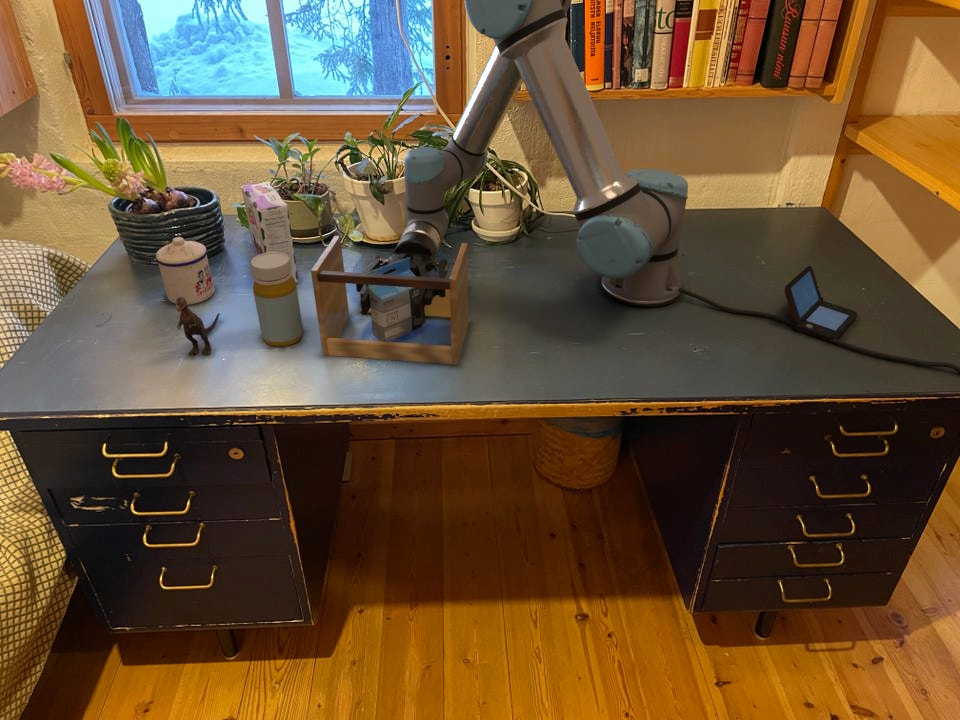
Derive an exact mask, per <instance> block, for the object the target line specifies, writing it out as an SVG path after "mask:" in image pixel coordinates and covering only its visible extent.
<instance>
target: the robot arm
mask: <svg viewBox="0 0 960 720" xmlns="http://www.w3.org/2000/svg"><path fill="white" fill-rule="evenodd" d="M463 1H464V7H465V8H464V9H465V12H466V15H467V18H468V20H469V22H470V24H471V25H472V27H473V28H474V29H475V30H476V32H478V33H479V34H481V35H484V36H485V37H487V38H489V39H493V42H494V47H493V49H492V51H491V53H490V54H489V57H488V59H487V61H486V63H485V66H483V67H484V68H483V70H482V71H481V74H480V76H479V78H478V80H477V82H476V84H475V86H474V88H473V90H472V93H471V95H470V97H469V98H468V101H467V104H466V105H465V107H464V109H463V112H462V114H461V116H460V118H459V120H458V122H457V124H456V127H455V129H454V131H453V132H452V135H451V137H450V139H449V141H448V143H447V145H446V146H445V147H444V148H442V149H441V150H440V149H439V148H436V147H432V146H419V147H416V148H415V147H414V148H411V149H409V150H408V151H407V152H406V153H405V155H404V170H403V177H404V184H405V185H404V187H405V201H406V220H407V225H406V227H405V228H404V231H403V233H402V235H401V236H400V238H399V241H398V243H397V245H396V247H395V249H394V251H393V255H391V256H389V257H388V258H387V259H386V258H385V259H383V258H381V256H380V255H373V258H372V261H371V262H370V263H369V264H368V265H367V266H366V267H365V268H364V269H363V270H362V271H361V272H360V273H367V274H368V272H370V271H373V270H375V269H378V268H381V267H383V266H386V265H389V264H392V263H394V262H397V261H400V260H403V259H406V258H409V257H410V270H411V271H412V273H413V274H414V275H415V276H416V277H431V275H430V274H429V273H430V272H433V270H434V272H435V273H436V276H437V278H446V276H447V274H448V273H449V272H448V271H449V269H448V260H447V259H445V258H443V259H440V261H435V260H436V258H437V255H438V252H439V250H440V247H441V245H442V243H443V240H444V238H445V237H446V235H447V232H448V229H449V222H450V221H449V214H448V212H447V211H446V202H445V201H446V192H448V191H450V190H452V189H453V188H455V187H457V186H458V185H460V184H462V183H463V182H466V181H467V180H469V179H471V178H474V177H476V176H477V175H478V174H479V173H480V172H481V171H483V170H484V168H486V165H487V163H488V155H489V154H488V149H489V148H490V145H491V143H492V141H493V140H494V138H495V135H496V134H497V132H498V130H499V128H500V126H501V124H502V123H503V121H504V118H506V116H507V113H508V112H509V109H510V108H511V106H512V104H513V102H514V100H515V98H516V96H517V94H518V93H519V90H520V88H521V87H522V85H523V83H524V85H525V88H526V90H527V92H528V94H529V96H530V99H531V101H532V103H533V105H534V108H535V110H536V112H537V114H538V116H539V118H540V120H541V123H542V126H543V127H544V130H545V131H546V134H547V136H548V138H549V140H550V142H551V144H552V148H553V149H554V151H555V154H556V155H557V158H558V160H559V162H560V164H561V167H562V169H563V171H564V173H565V176H566V177H567V179H568V182H569V184H570V186H571V188H572V190H573V193H574V195H575V197H576V201H575V204H574V206H573V209H572V212H573V215H574V217H575V219H576V222H577V224H578V226H579V229H578V233H577V238H576V250H577V254H578V256H579V257H580V259H581V261H582V262H583V264H584V265H585V266H586V267H587V268H588V269H589V270H590V271H592V272H593V273H595V274H596V275H601V276H602V277H601V284H600V287H601V289H602V291H603V293H604V294H605V295H606V296H607V297H608V298H610V299H612V300H613V301H615V302H617V303H620V304H623V305H626V306H631V307H637V308H659V307H663V306H668V305H671V304H672V303H675V302H676V301H677V300H678V299H679V298H680V296H681V294H684V295H687V296H689V297H692V298H694V299H696V300H699V301H701V302H704V303H705V304H708V305H710V306H712V307H713V308H716V309H719V310H721V311H724V312H729V313H732V314H740V315H747V316H756V317H763V318H768V319H772V320H775V321H779V322H781V323H784V324H786V325H789V326H791V327H793V325H794V323H795V322H794V320H793V321H792V320H791V319H788V318H785V317H783V316H779V315H776V314H772V313H768V312H763V311H758V310H757V311H755V310H746V309H739V308H733V307H729V306H725V305H723V304H720V303H717V302H715V301H713V300H711V299H709V298H707V297H705V296H702V295H699V294H697V293H695V292H692V291H690V290H687V289H684V288H682V287H683V280H682V275H681V269H680V264H679V259H678V254H679V253H678V252H679V246H680V241H681V234H682V228H683V223H684V218H685V211H686V205H687V200H688V198H689V196H688V194H689V193H688V192H689V183H688V181H687V180H686V178H684V177H683V176H681V175H679V174H676V173H673V172H669V171H666V170H665V171H664V170H658V169H652V168H651V169H648V168H642V169H641V168H638V169H637V168H636V169H630V170H628V171H627V172H625V173H624V171H623V168H622V166H621V163H620V161H619V159H618V157H617V154H616V152H615V150H614V148H613V145H612V143H611V141H610V139H609V136H608V134H607V132H606V129H605V127H604V125H603V123H602V120H601V118H600V116H599V113H598V110H597V109H596V106H595V104H594V102H593V100H592V97H591V95H590V92H589V90H588V87H587V86H586V83H585V81H584V79H583V77H582V74H581V72H580V70H579V68H578V66H577V63H576V61H575V58H574V56H573V54H572V51H571V49H570V47H569V45H568V42H567V40H566V37H565V30H566V27H567V24H568V17H567V15H566V14H567V12H568V11H569V8H570V6H571V3H572V1H573V0H463ZM395 271H396V269H393V270H391V269H388V271H387V272H384V273H383V275H387V274H390V273H392V272H395ZM355 287H356V292H357V293H359V297H360V301H359V302H360V309H361V311H362V313H361V315H362V316H367V315H368V314H369V313H368V311H369V309H370V300H369V291H368V285H365V284H355ZM437 295H439V297H445V296H446V290H445V289H429V288H421V290H420V293H419V295H418V298H417V300H416V303H415V314H416V318H419V319H420V318H421V315H422V313H423V310H424V307H425V305H431V303H432V301H433V298H434V297H435V296H437ZM829 342H831V343H833V344H835V345H838V346H841V347H843V348H846V349H849V350H852V351H855V352H859V353H861V354H865V355H868V356H873V357H875V358H876V357H877V358H882V359H885V360H891V361H896V362H903V363H907V364H914V365H918V366H922V367H923V366H924V367H936V368H937V367H938V368H948V369H952V370H954V371H955V372H957V373H958V374H960V366H959V365H957V364H954V363H951V362H944V361H926V360H920V359H915V358H910V357H905V356H899V355H893V354H888V353H884V352H879V351H875V350H870V349H866V348H864V347H861V346H857V345H854V344H850V343H847V342H845V341H842V340H840V339H832V340H831V341H829ZM913 516H914V518H913V517H912V518H913V520H912V519H911V520H912V522H911V521H910V523H911V524H910V523H909V525H910V526H909V525H908V527H909V528H908V527H907V532H909V533H912V532H913V530H914V528H915V525H916V523H917V520H918V518H919V515H913Z"/></svg>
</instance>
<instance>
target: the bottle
mask: <svg viewBox="0 0 960 720" xmlns="http://www.w3.org/2000/svg"><path fill="white" fill-rule="evenodd" d="M250 267H251V272H252V275H253V283H252V292H253V296H254V302H255V307H256V312H257V313H256V314H257V317H258V318H257V319H258V324H259V328H260V333H261V337H262V340H263V341H264V342H265V343H266V344H268V345H269V346H272V347H276V348H282V347H288V346H292V345H294V344H297V343H298V342H299V341H300V340H301V338H302V337H303V336H304V326H303V320H302V313H301V308H300V301H299V294H298V287H297V283H296V282H295V280H294V278H293V277H292V273H291V265H290V259H289V257H288V256H287V255H286V254H284V253H280V252H268V253H263V254H260V255H257V256H254V257H253V258H252V259H251V260H250Z"/></svg>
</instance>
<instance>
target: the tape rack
mask: <svg viewBox="0 0 960 720" xmlns="http://www.w3.org/2000/svg"><path fill="white" fill-rule="evenodd" d="M341 239H342V238H341V235H334V236H333V237H332V239H331V241H330V242H329V244H328V245H327V246H326V248H325V249H324V251H323V253H322V254H321V255H320V256H319V258H318V260H317V261H316V263H315V264H314V265H313V267H312V268H311V270H310V275H311V280H312V288H313V289H312V290H313V295H314V303H315V308H316V316H317V323H318V324H317V325H318V331H319V338H320V344H321V345H320V346H321V352H322V356H327V357H328V356H331V357H332V356H333V357H345V358H346V357H347V358H357V359H358V358H359V359H360V358H361V359H371V360H372V359H373V360H385V361H387V360H388V361H398V362H399V361H400V362H401V361H402V362H414V363H427V364H439V365H440V364H442V365H452V366H458V364H459V361H460V357H461V353H462V349H463V346H464V343H465V342H464V341H465V340H466V339H465V338H466V334H467V331H468V326H469V249H468V247H469V244H468V243H467V242H461V244H460V247H459V250H458V253H457V256H456V260H455V262H454V265H453V268H452V271H451V275H450V277H449V278H446V277H445V278H438V277H431V276H430V277H416V276H399V275H383V274H367V273H361V272H350V271H349V272H348V271H345V266H344V257H343V247H342V241H341ZM347 284H349V285H351V284H352V285H356V284H365V285H381V286H397V287H413V288H429V289H445V290H450V318H451V319H450V345H440V344H439V345H437V344H423V343H411V342H410V343H408V342H398V341H397V342H395V341H390V342H383V341H381V340H369V339H356V338H355V339H353V338H340V335H341V333H342V331H343V329H344V327H345V325H346V324H347V321H348V320H349V318H350V310H349V301H348V292H347Z"/></svg>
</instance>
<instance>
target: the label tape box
mask: <svg viewBox="0 0 960 720" xmlns="http://www.w3.org/2000/svg"><path fill="white" fill-rule="evenodd" d="M388 269H391V270H393V269H396V271H395V272H392V273H390V274H387V275H399V276H415V275H414V274H413V273H412V271H411V270H410V257H409V258H406V259H403V260H400V261H397V262H394V263H392V264H389V265H386V266H383V267H381V268H378V269H375V270H373V271H370V272H368V274H383V273H384V272H387V271H388ZM420 290H421V288H413V287H397V286H381V285H368V291H369V300H370V309H371V313H370V316H371V317H370V318H371V324H372V333H373V334H372V335H373V336H374V337H375V338H376V339H378V341H383V342H394V340H397V339H399V338H401V337H403V336H406V335H407V334H410V333H412V332H415V331H417V330H419V329H421V328H424V327H425V326H426V317H425V309H424V310H423V313H422V315H421V318H420V319H419V318H416V314H415V303H416V300H417V298H418V295H419V293H420Z"/></svg>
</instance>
